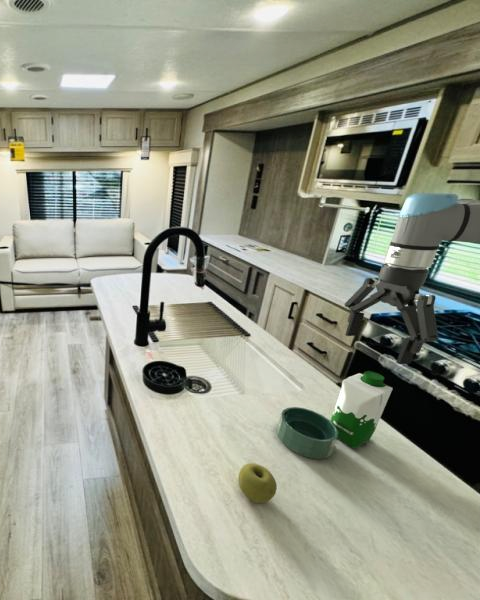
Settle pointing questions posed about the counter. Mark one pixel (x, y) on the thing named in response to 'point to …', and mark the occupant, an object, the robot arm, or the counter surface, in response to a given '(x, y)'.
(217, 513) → the counter surface
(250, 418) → the counter surface
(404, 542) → the counter surface
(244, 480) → the apple
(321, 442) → the green bowl
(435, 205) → the robot arm
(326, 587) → the counter surface
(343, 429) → the soya milk
